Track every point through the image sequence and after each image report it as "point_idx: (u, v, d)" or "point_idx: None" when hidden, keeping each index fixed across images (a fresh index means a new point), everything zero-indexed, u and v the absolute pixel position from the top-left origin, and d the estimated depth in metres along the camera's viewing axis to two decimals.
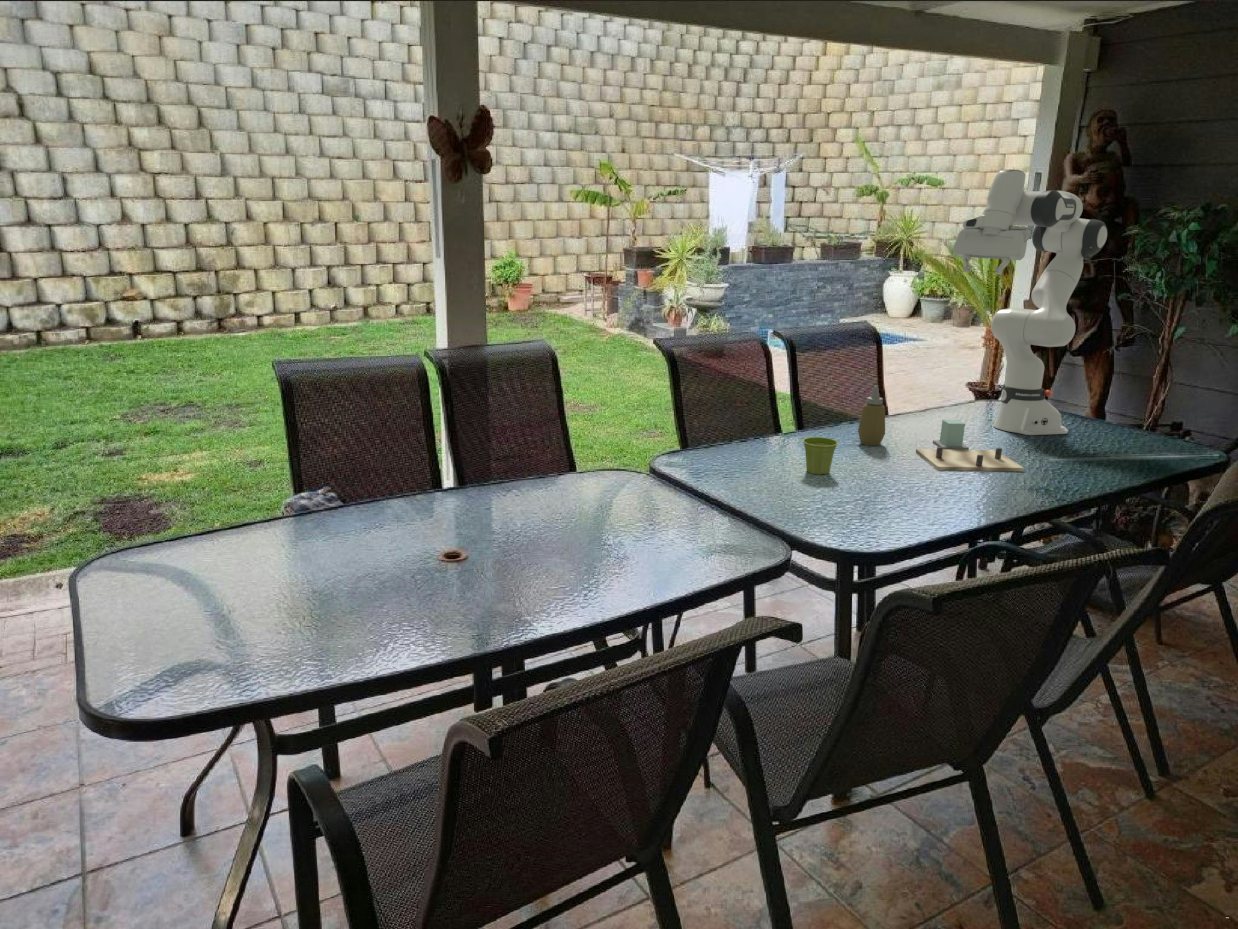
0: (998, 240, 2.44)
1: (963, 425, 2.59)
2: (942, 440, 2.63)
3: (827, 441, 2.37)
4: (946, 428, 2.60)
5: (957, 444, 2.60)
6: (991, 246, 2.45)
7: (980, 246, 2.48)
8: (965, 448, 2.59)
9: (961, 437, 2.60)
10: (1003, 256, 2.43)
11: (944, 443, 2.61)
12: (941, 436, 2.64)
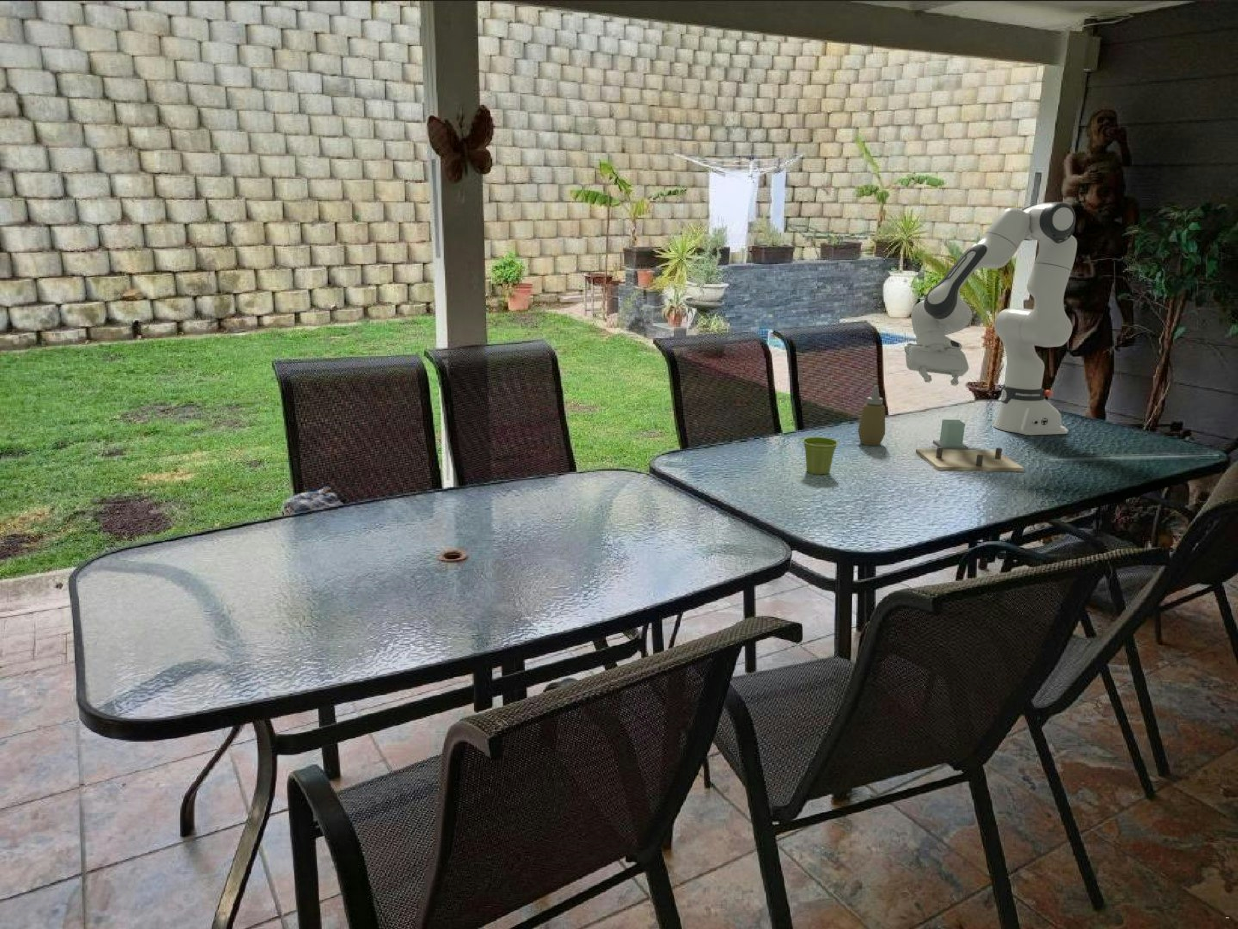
0: None
1: (963, 425, 2.59)
2: (942, 440, 2.63)
3: (827, 441, 2.37)
4: (946, 428, 2.60)
5: (957, 444, 2.60)
6: None
7: None
8: (965, 448, 2.59)
9: (961, 437, 2.60)
10: None
11: (944, 443, 2.61)
12: (941, 436, 2.64)
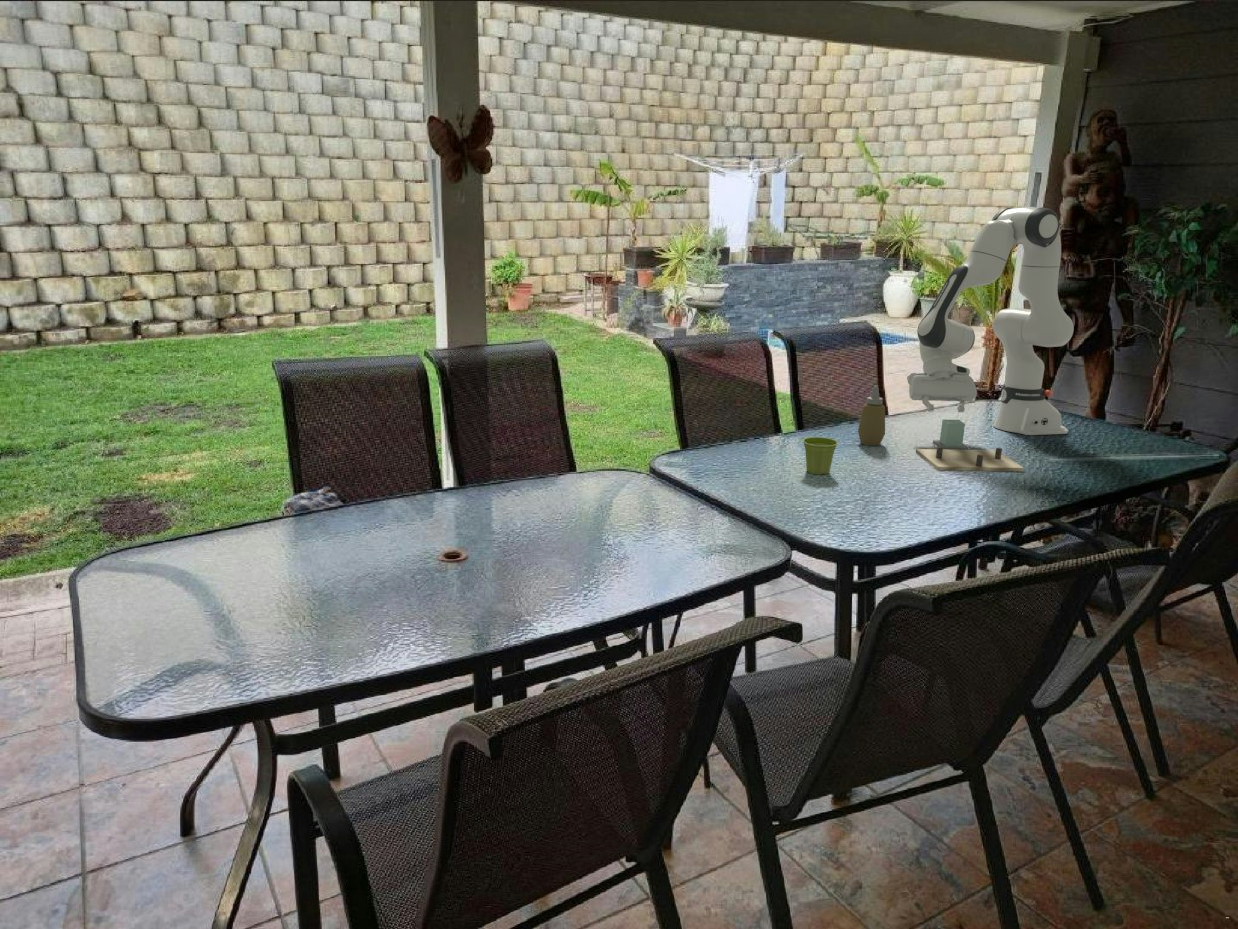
0: None
1: (963, 425, 2.59)
2: (942, 440, 2.63)
3: (827, 441, 2.37)
4: (946, 428, 2.60)
5: (957, 444, 2.60)
6: None
7: None
8: (965, 448, 2.59)
9: (961, 437, 2.60)
10: None
11: (944, 443, 2.61)
12: (941, 436, 2.64)
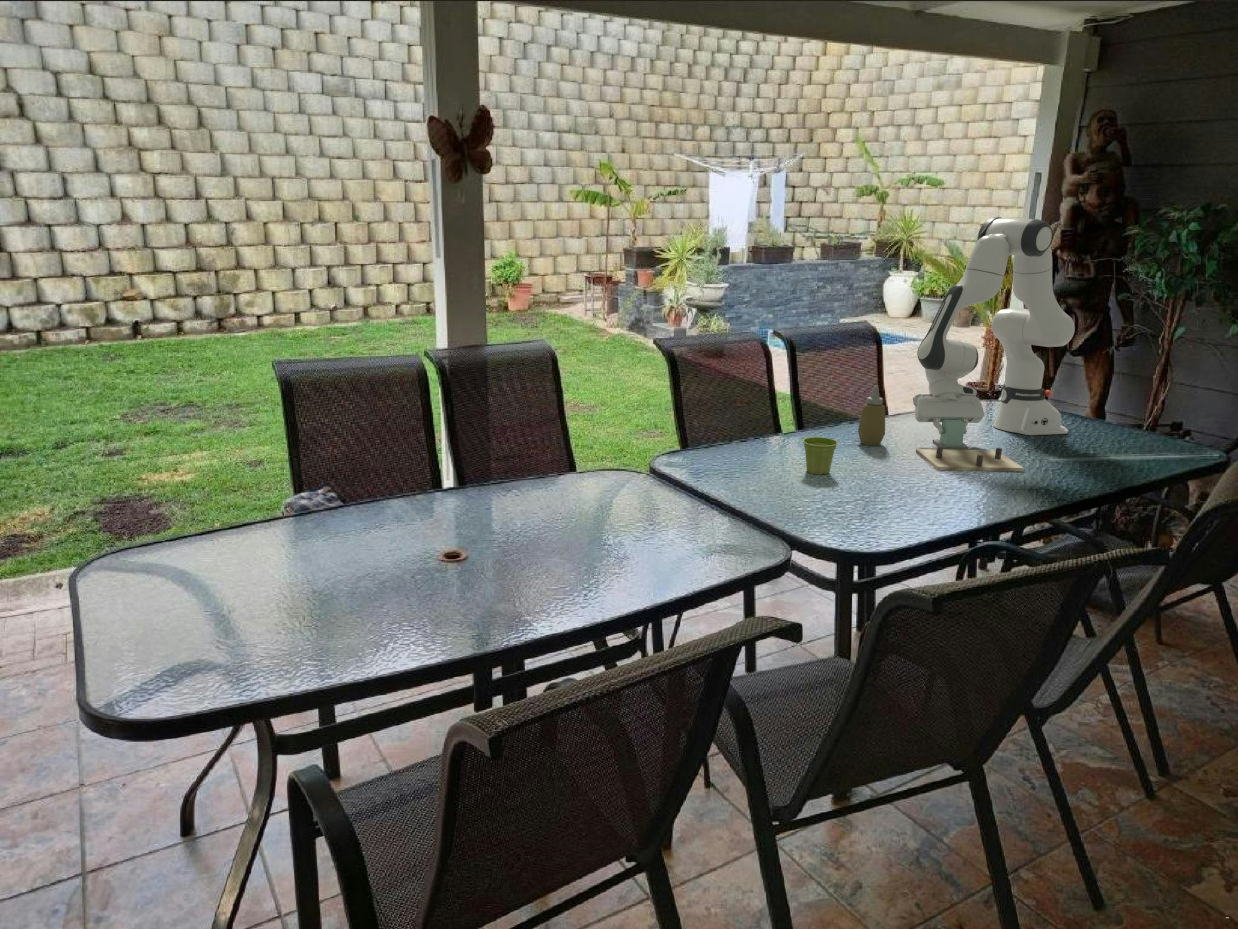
0: None
1: (963, 425, 2.59)
2: (942, 440, 2.63)
3: (827, 441, 2.37)
4: (946, 427, 2.60)
5: (957, 444, 2.60)
6: None
7: None
8: (965, 448, 2.59)
9: (961, 437, 2.60)
10: None
11: (944, 443, 2.61)
12: (941, 436, 2.64)
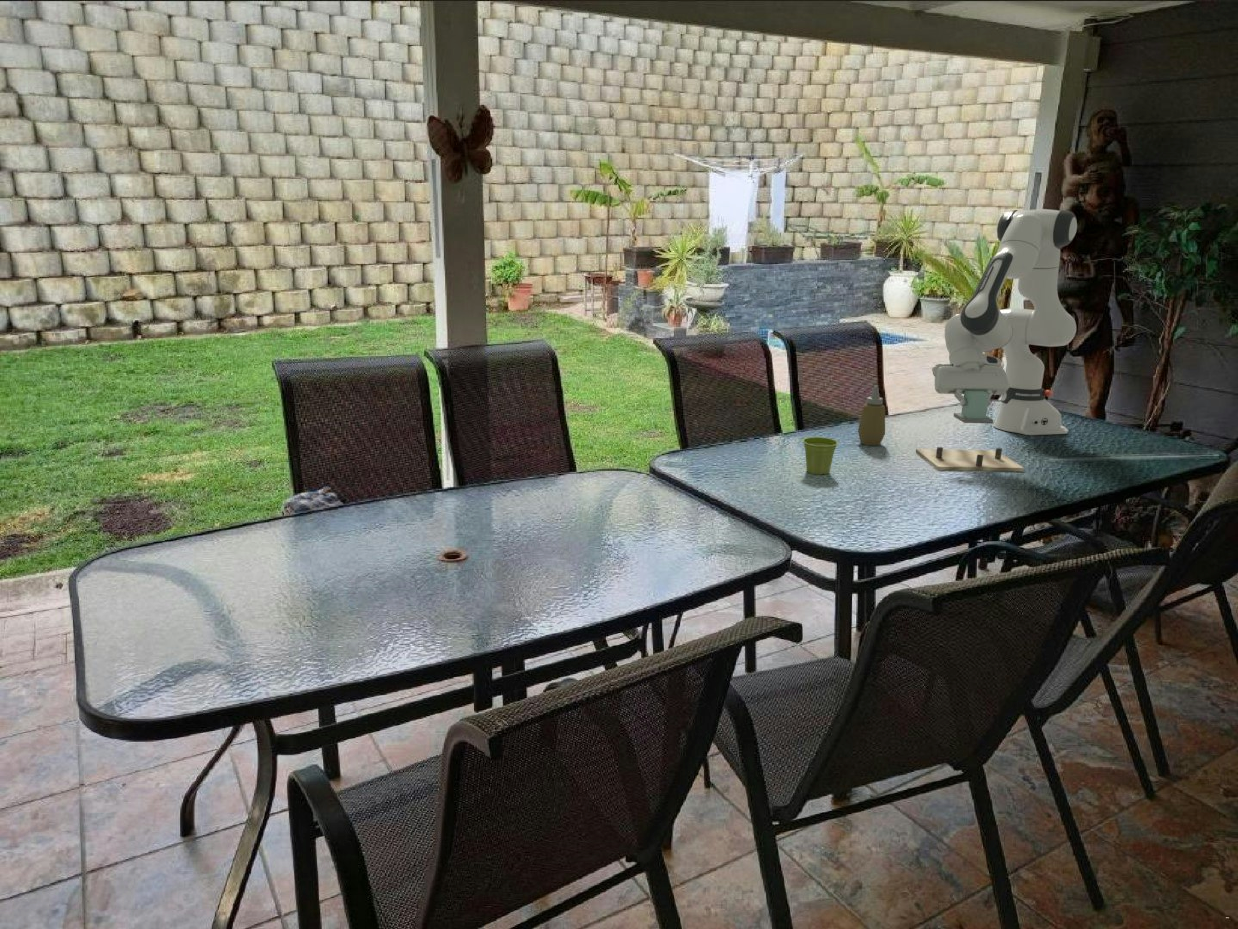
0: None
1: (987, 396, 2.40)
2: (964, 412, 2.44)
3: (827, 441, 2.37)
4: (968, 399, 2.41)
5: (981, 417, 2.41)
6: None
7: None
8: (989, 420, 2.40)
9: (985, 409, 2.41)
10: (951, 393, 2.46)
11: (966, 415, 2.42)
12: (963, 408, 2.45)
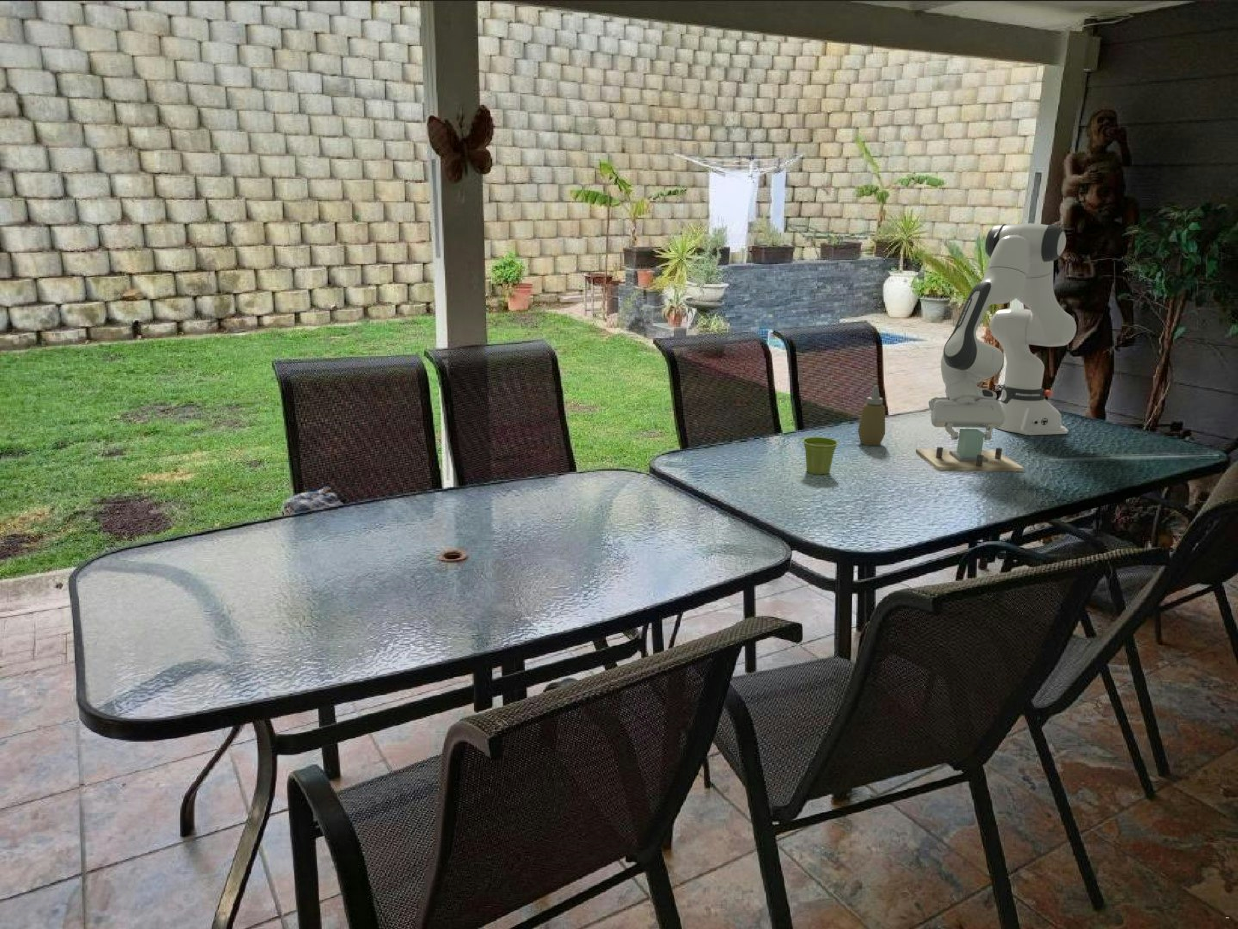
0: None
1: (982, 435, 2.43)
2: (959, 451, 2.47)
3: (827, 441, 2.37)
4: (964, 438, 2.44)
5: (976, 455, 2.45)
6: None
7: None
8: (984, 459, 2.44)
9: (980, 448, 2.44)
10: None
11: (962, 454, 2.46)
12: (958, 446, 2.48)
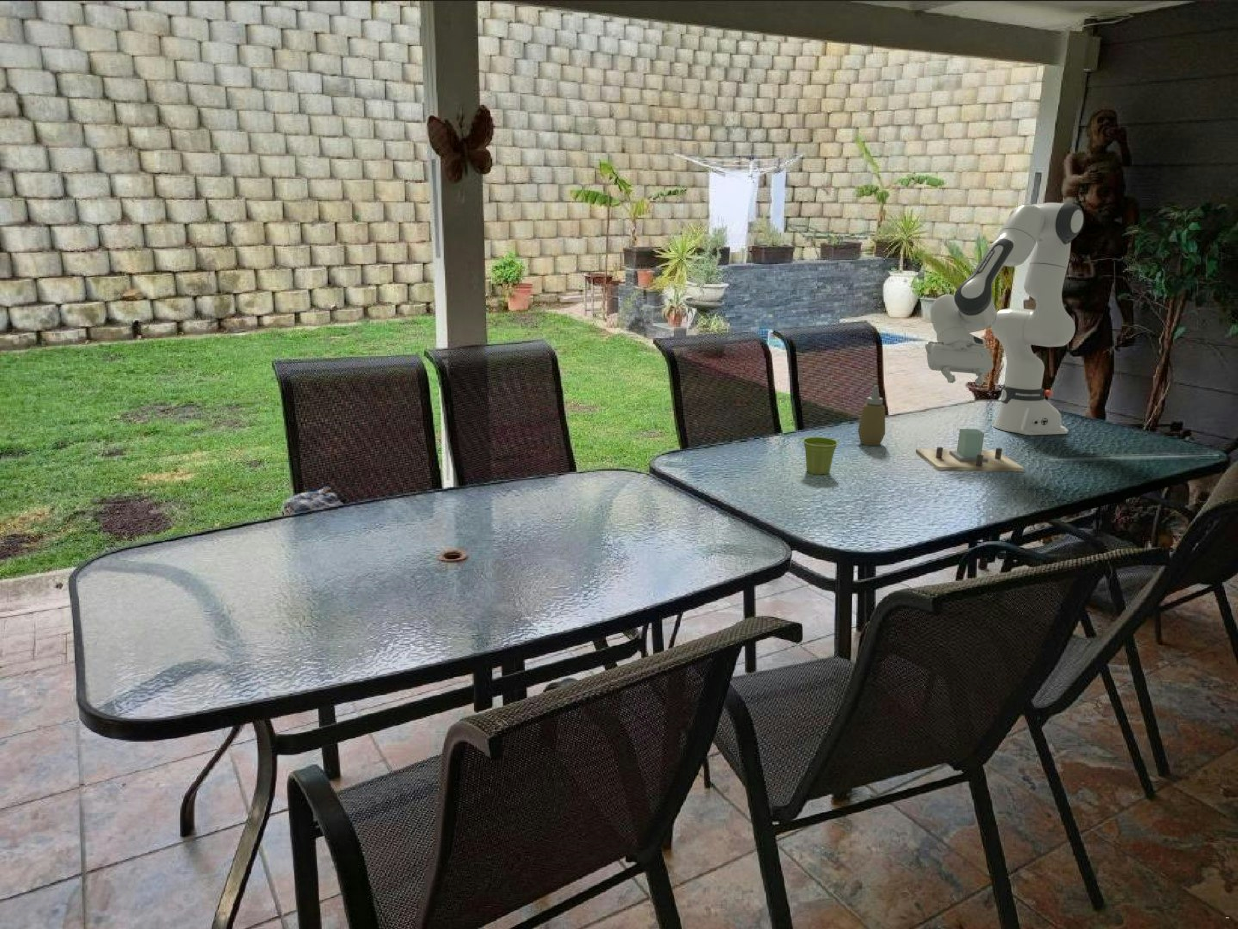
0: None
1: (982, 435, 2.43)
2: (959, 451, 2.47)
3: (827, 441, 2.37)
4: (964, 438, 2.44)
5: (976, 455, 2.45)
6: None
7: None
8: (984, 459, 2.44)
9: (980, 448, 2.44)
10: None
11: (962, 454, 2.46)
12: (958, 446, 2.48)
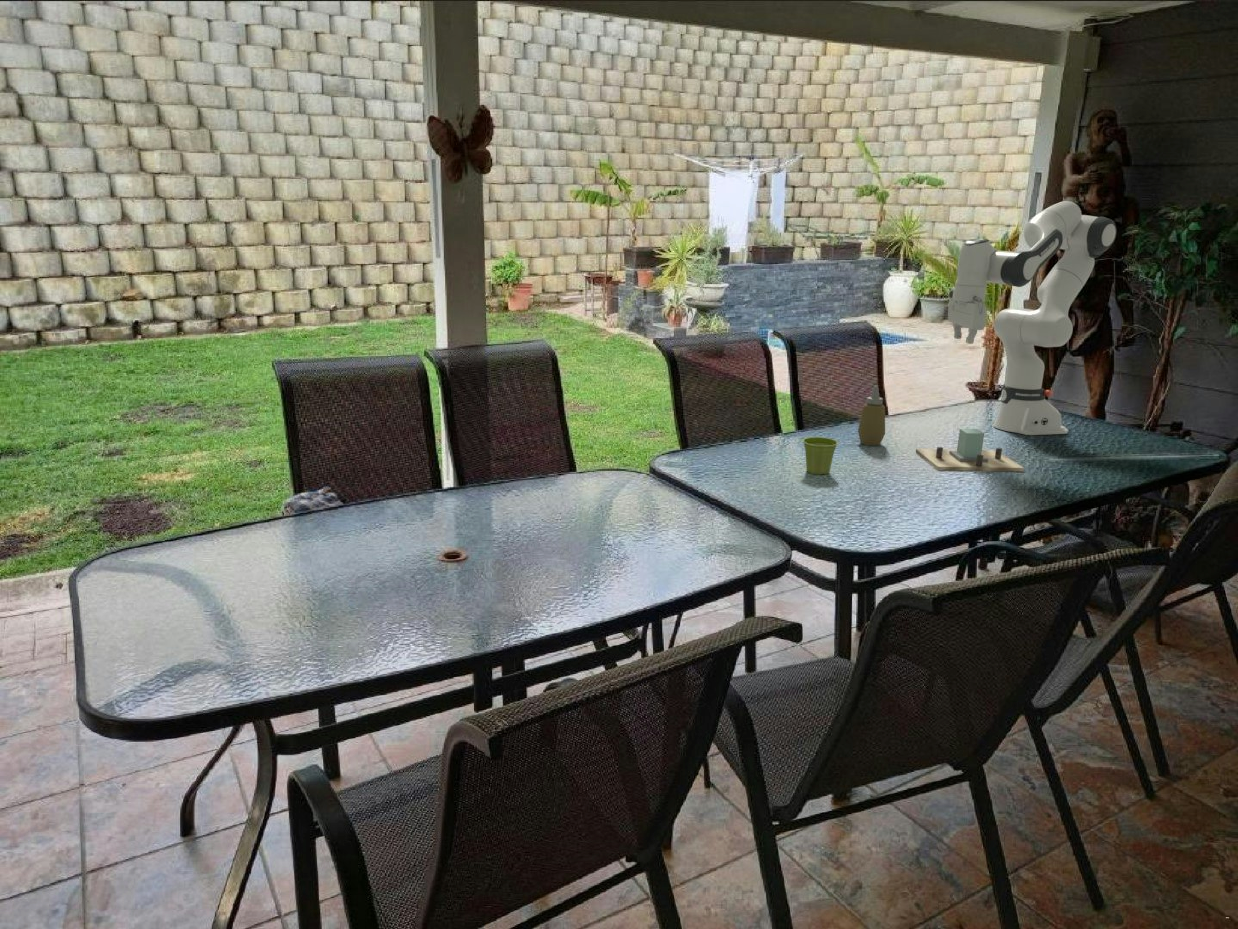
0: (966, 311, 2.56)
1: (982, 435, 2.43)
2: (959, 451, 2.47)
3: (827, 441, 2.37)
4: (964, 438, 2.44)
5: (976, 455, 2.45)
6: (962, 317, 2.58)
7: (958, 316, 2.61)
8: (984, 459, 2.44)
9: (980, 448, 2.44)
10: None
11: (962, 454, 2.46)
12: (958, 446, 2.48)
